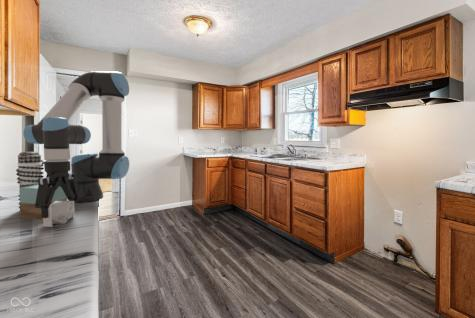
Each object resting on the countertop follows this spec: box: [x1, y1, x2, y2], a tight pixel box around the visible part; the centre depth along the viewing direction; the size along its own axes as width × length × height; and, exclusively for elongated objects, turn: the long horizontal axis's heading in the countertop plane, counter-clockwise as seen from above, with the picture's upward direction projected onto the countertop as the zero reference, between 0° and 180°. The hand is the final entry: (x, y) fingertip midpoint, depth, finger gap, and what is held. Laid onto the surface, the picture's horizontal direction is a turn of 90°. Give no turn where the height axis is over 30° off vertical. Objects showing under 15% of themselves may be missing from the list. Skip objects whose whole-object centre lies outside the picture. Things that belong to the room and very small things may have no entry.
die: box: [49, 200, 76, 225], centre depth 90 cm, size 8×9×10 cm
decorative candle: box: [15, 151, 45, 212], centre depth 106 cm, size 9×9×25 cm
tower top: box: [18, 185, 67, 204], centre depth 99 cm, size 10×10×6 cm
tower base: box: [19, 198, 68, 220], centre depth 99 cm, size 10×10×6 cm
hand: (60, 221), depth 90 cm, fingers closed on die, 9 cm apart
